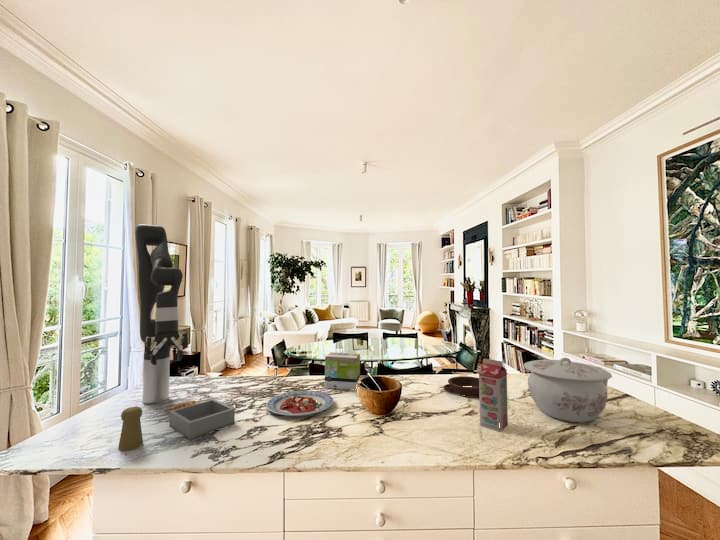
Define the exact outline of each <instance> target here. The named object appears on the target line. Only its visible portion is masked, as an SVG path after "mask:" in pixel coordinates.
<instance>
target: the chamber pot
mask: <svg viewBox="0 0 720 540" xmlns="http://www.w3.org/2000/svg"><path fill="white" fill-rule="evenodd" d="M523 368H525V369H526V370H527V371H529V372H530V374H529V376H528V378H527V387H528V391H529V395H530V397H531V398H532V400H533V402H534V403H535V405H536V406H537V407H538V410H540V411H541V412H542V413H544V414H545V415H547V416H549V417H552V418H554V419H556V418H557V419H556V420H559V419H560V421H562V420H564V421H563V422H567V421H569V422H568V423H576V422H578V423H590V422H593V421H595V420H596V419H597V418H598V417H599V416H600V415H601V414H602V413H603V412H604V410H605V409H606V406H607V401H608V388H607V386H608V382H609V380H610V379H612V378H613V375H612V373H611V372H609V371H607V370H606V369H604V368H602V367H600V366H594V365H592V364H587V363H583V362H578V361H572V360H571V359H570V358H567V357H562V358H560V359H536V360H530V361H527V362H524V364H523Z"/></svg>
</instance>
